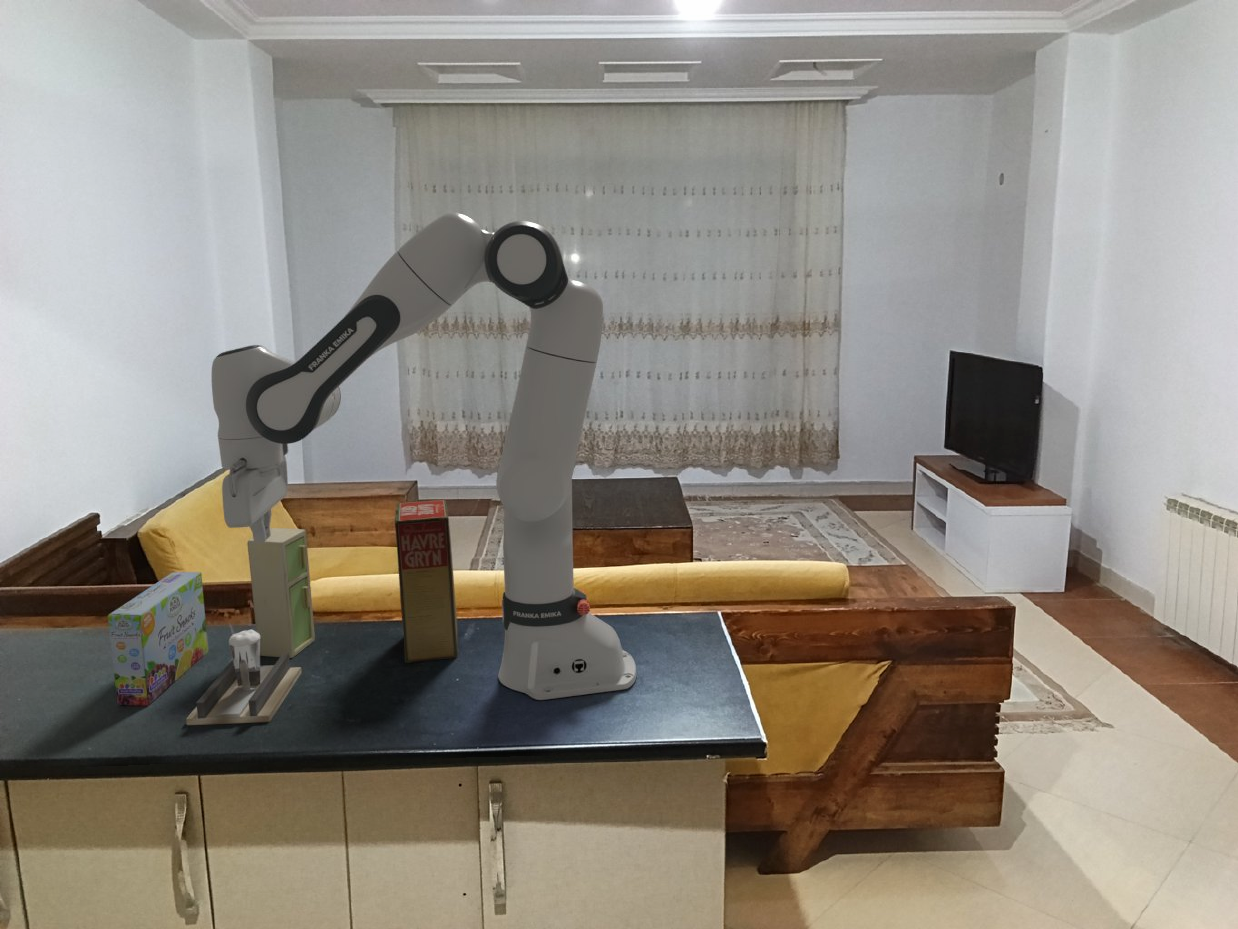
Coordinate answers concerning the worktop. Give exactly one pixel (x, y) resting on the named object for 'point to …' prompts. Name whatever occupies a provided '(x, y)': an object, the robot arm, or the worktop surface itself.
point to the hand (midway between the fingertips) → (262, 540)
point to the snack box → (157, 637)
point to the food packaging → (426, 580)
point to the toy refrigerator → (282, 592)
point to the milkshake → (246, 658)
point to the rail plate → (245, 696)
